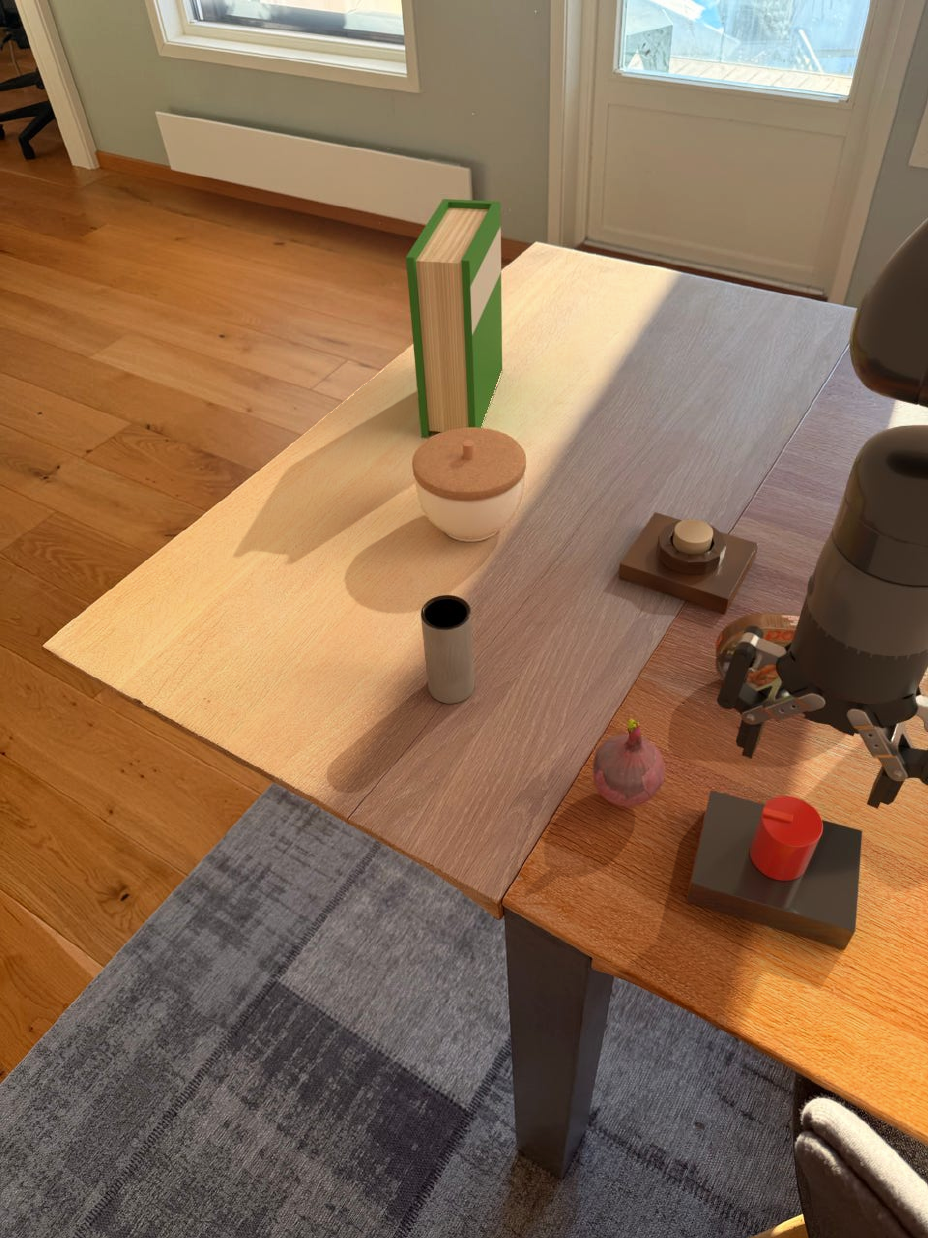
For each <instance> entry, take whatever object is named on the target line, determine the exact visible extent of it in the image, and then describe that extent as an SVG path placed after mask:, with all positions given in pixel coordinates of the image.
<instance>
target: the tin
mask: <svg viewBox="0 0 928 1238" xmlns="http://www.w3.org/2000/svg"><path fill="white" fill-rule="evenodd" d="M799 617H800V614H791V613H790V614H789V613H775V612H773V613H772V612H756V613H751V614H746V615H743V616H741V617H738V618H737V619H735V620H733V621H731V622H730V623H729V624H728V625H726V626H725V627H724V628H723V629H722V630H721V631H720V633H719V635H718V637H717V640H716V642H715V670H716V672H717V675H718V676H719V678H720V680H722V682H723V681H724V678H725V675H726V673H727V670H728V667H729V664H730V661H731V658H732V655H733V653H734V651H735V649H736V647H737V645H738V643H739V641H740V639H741V637H742V635H743V633H744V631H745V629H746V627H748V626H757V627H759V628H760V629H761V630H762V631H763V634H764V635H763V638H762V639H764V640H767V641H769V642H772V643H774V644H777V645H779V646H782V647H785V646H786V645H788V644H789V643H791V642H792V639H793V636H794V633H795V630H796V627H797V624H798V620H799ZM777 677H778V674H777V672H776V666H775V665H771V664H770V665H766V666H764V668H763V669H762V670H759V671H755V673H753V674H751V673H749V675H748V678H747V680H746V683H745V684H747V685H748V686H750V687H751V688H753V689H755V688H758V687H760V686H763V685H765V684H768V683H770V682H772V681H774V680H775V679H776V678H777Z"/></svg>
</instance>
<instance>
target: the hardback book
mask: <svg viewBox="0 0 928 1238" xmlns="http://www.w3.org/2000/svg"><path fill="white" fill-rule="evenodd" d="M501 215H502V214H501V201H500V200H499V201H498V200H497V201H495V200H477V199H476V200H472V199H452V198H442V200H441V202H440V203H439V204H438V206H437V207H436V209H435V210H434V213H433V214H432V215H431V217H430V219H429V220H428V222H427V223H426V225H425V226H424V228H423V230H422V231H421V233H420V234H419V236H418V237H417V239H416V240H415V242H414V243H413V245H412V247H411V248H410V250H409V252H408V253H407V255H406V256H405V264H406V276H407V287H408V299H409V309H410V311H409V313H410V321H411V333H412V334H411V335H412V345H413V346H412V347H413V357H414V358H413V359H414V369H415V377H416V378H415V379H416V381H415V382H416V390H417V392H416V393H417V404H418V405H417V406H418V414H419V416H418V417H419V427H420V438H426V437H428V438H430V435H429V434H431V432H438V433H441V432H444V431H448V430H452V429H457V428H465V427H477V428H481V426H482V427H483V425H482V423H483V420H484V417H485V414H486V413H487V414H488V412H487V410H488V407H489V404H490V401H491V398H492V396H493V393H494V390H495V387H496V384H497V382H498V379H499V376H500V373H501V371H502V372H503V317H502V316H503V315H502V311H503V310H502V309H503V308H502V307H503V305H502V230H501V229H502V227H501V226H502V225H501V223H502V221H501ZM490 405H491V404H490ZM489 408H490V407H489ZM488 411H489V410H488ZM485 418H486V417H485ZM484 421H485V420H484ZM483 424H484V423H483Z"/></svg>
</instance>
